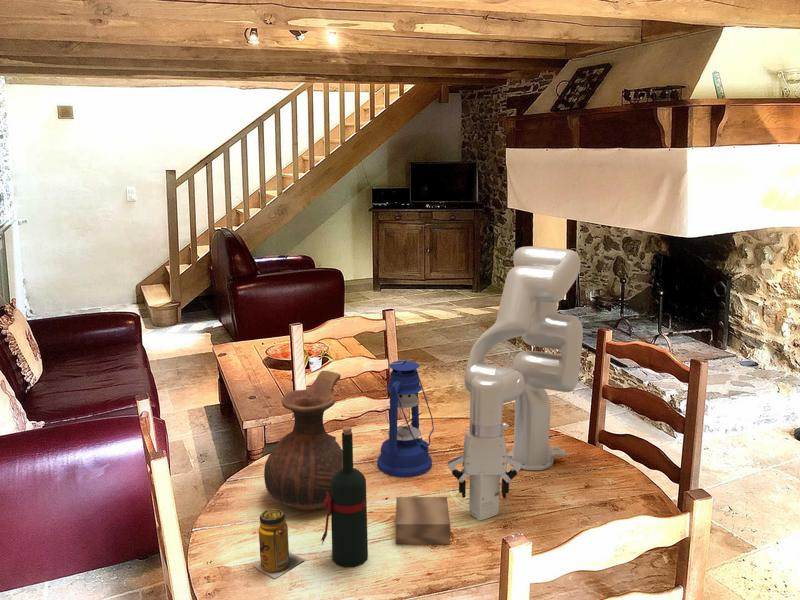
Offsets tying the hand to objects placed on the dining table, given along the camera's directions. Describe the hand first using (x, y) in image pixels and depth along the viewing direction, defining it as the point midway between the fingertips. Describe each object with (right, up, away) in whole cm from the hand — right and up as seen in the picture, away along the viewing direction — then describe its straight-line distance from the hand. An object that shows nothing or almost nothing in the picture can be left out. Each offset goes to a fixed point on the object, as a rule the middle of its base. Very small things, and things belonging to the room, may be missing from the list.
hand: (483, 495), depth 170 cm
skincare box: (0, -5, +2) cm, 5 cm away
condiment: (-46, -10, -18) cm, 50 cm away
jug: (-43, -3, +10) cm, 44 cm away
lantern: (-19, +1, +27) cm, 33 cm away
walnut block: (-15, -7, -5) cm, 17 cm away
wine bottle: (-32, -9, -16) cm, 37 cm away
